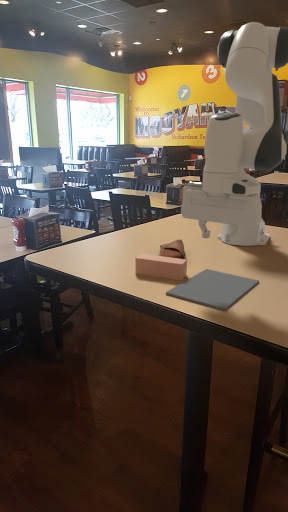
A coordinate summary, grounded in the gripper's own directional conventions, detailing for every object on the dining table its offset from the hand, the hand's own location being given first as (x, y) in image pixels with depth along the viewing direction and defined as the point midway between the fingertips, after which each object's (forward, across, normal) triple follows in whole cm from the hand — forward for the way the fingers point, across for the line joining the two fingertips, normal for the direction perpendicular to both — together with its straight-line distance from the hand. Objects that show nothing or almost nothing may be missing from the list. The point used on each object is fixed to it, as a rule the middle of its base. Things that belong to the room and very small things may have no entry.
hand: (217, 239), depth 95 cm
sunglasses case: (+14, -25, +15) cm, 32 cm away
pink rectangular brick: (+14, -17, +1) cm, 22 cm away
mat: (+13, 0, 0) cm, 13 cm away
